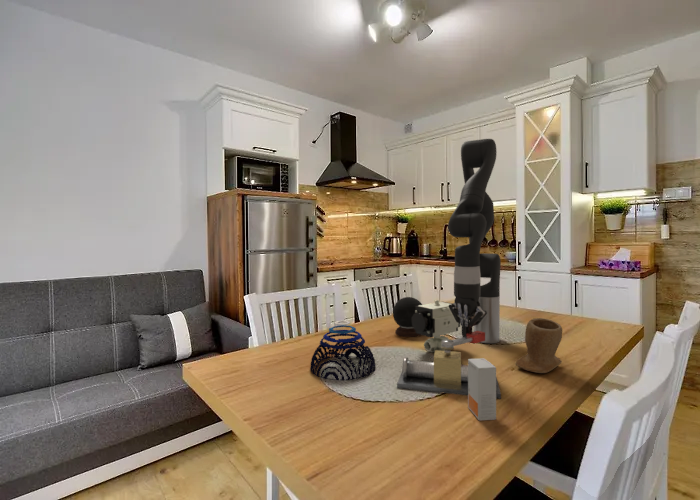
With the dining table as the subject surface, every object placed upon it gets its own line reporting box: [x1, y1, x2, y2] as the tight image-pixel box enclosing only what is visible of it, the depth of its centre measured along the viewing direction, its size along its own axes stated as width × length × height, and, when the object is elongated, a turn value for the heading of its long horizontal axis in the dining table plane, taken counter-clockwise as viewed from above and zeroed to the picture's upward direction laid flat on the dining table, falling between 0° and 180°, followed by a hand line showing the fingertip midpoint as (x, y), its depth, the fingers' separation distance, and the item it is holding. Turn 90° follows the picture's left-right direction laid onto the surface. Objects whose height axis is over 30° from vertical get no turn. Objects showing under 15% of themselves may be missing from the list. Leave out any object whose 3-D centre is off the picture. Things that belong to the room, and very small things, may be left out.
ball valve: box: [412, 299, 461, 353], centre depth 128 cm, size 18×8×18 cm, turn 124°
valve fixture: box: [396, 350, 502, 400], centre depth 100 cm, size 12×26×10 cm, turn 73°
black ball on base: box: [392, 296, 423, 338], centre depth 151 cm, size 13×13×15 cm
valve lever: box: [442, 330, 485, 351], centre depth 103 cm, size 16×3×2 cm, turn 123°
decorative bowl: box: [310, 320, 376, 382], centre depth 114 cm, size 20×20×14 cm
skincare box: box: [467, 357, 497, 422], centre depth 83 cm, size 6×4×12 cm
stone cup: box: [514, 317, 563, 374], centre depth 110 cm, size 15×12×15 cm
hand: (466, 338), depth 109 cm, fingers closed
